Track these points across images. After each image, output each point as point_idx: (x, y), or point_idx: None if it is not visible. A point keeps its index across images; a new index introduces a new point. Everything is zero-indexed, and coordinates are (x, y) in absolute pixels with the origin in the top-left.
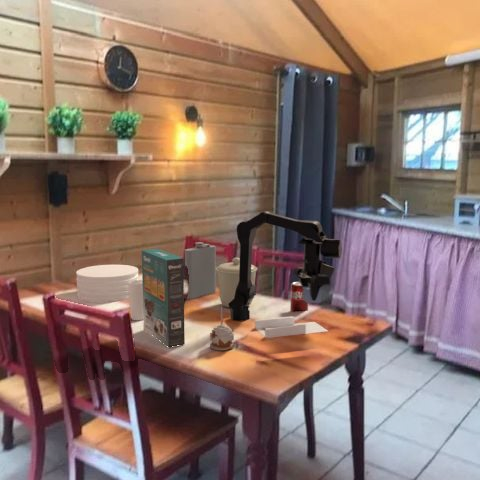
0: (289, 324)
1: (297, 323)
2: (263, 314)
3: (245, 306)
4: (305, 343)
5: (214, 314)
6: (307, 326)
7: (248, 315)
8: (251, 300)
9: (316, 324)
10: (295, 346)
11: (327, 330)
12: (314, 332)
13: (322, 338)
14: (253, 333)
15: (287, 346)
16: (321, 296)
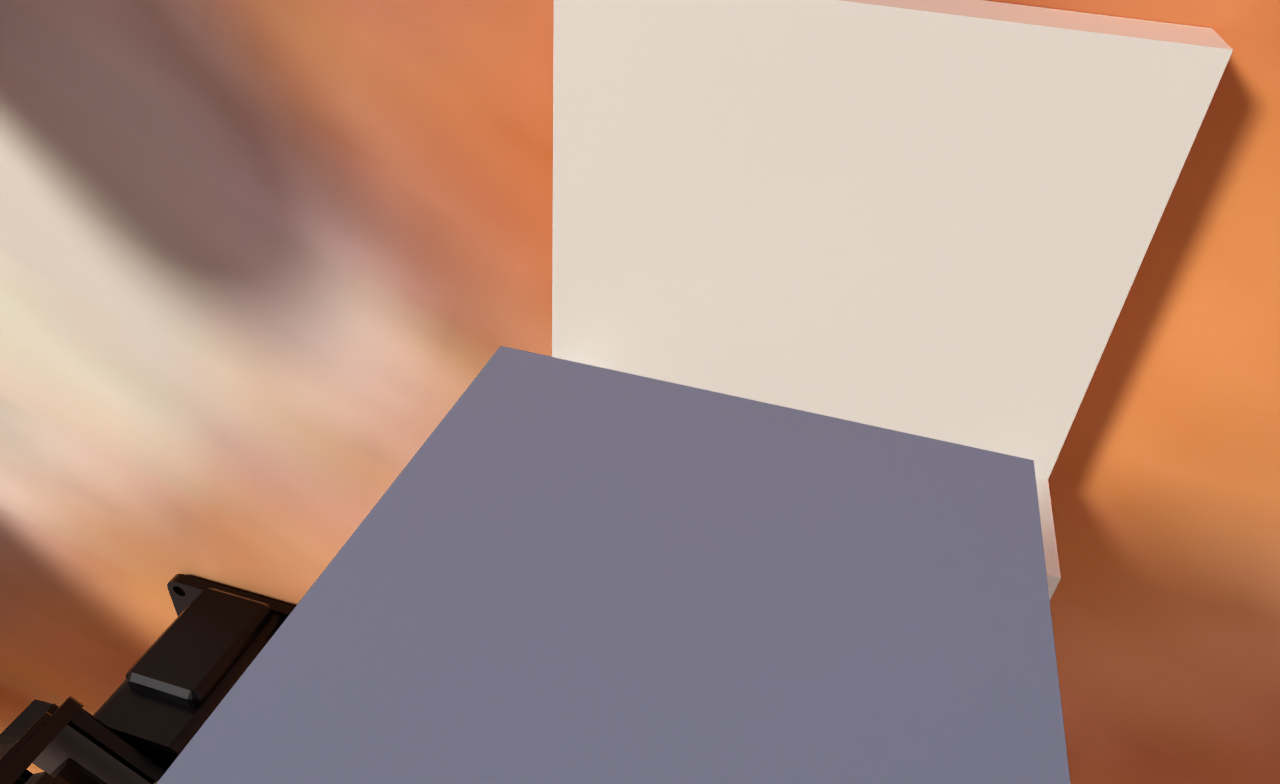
0: None
1: (553, 301)
2: (6, 336)
3: (161, 769)
4: (1242, 569)
5: (45, 662)
6: (751, 251)
7: (234, 660)
8: (65, 766)
9: (723, 30)
10: (1233, 704)
11: (1185, 46)
12: (1100, 341)
13: (1269, 243)
14: None
15: (1160, 753)
16: (1053, 652)
